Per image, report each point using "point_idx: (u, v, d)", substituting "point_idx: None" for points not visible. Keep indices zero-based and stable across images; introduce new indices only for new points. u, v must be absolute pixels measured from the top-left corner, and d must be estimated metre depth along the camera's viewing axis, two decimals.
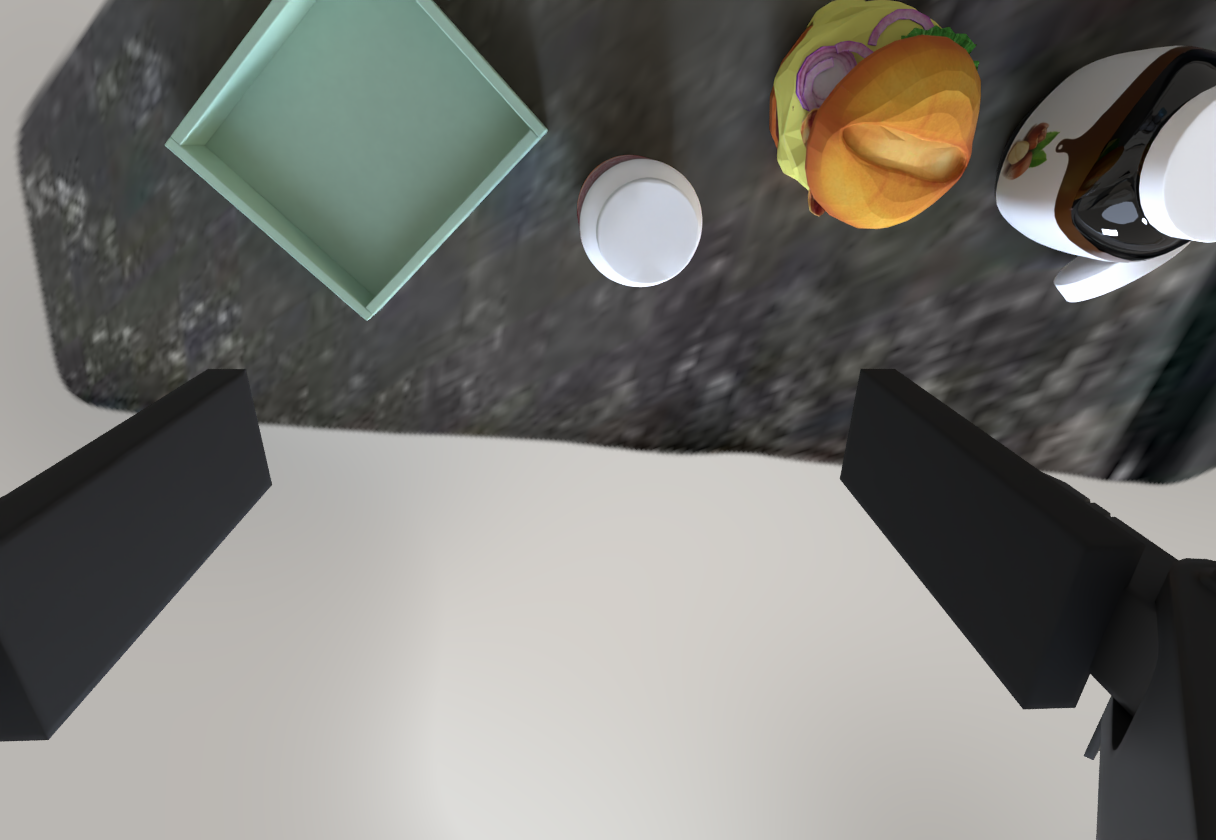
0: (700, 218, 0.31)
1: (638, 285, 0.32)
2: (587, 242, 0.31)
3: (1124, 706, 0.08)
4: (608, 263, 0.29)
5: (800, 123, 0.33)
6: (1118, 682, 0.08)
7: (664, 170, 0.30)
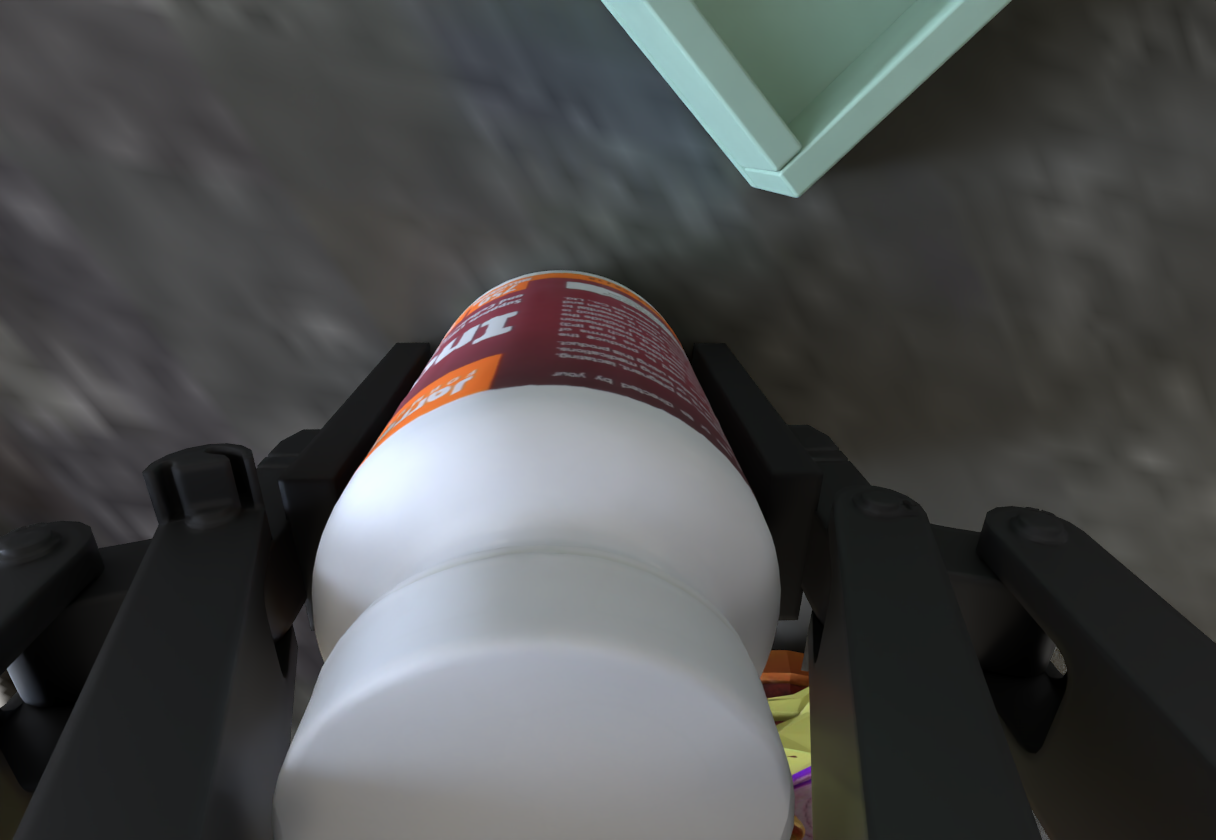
0: None
1: (318, 637, 0.08)
2: (468, 452, 0.07)
3: (820, 621, 0.09)
4: (355, 703, 0.05)
5: None
6: (813, 602, 0.09)
7: None
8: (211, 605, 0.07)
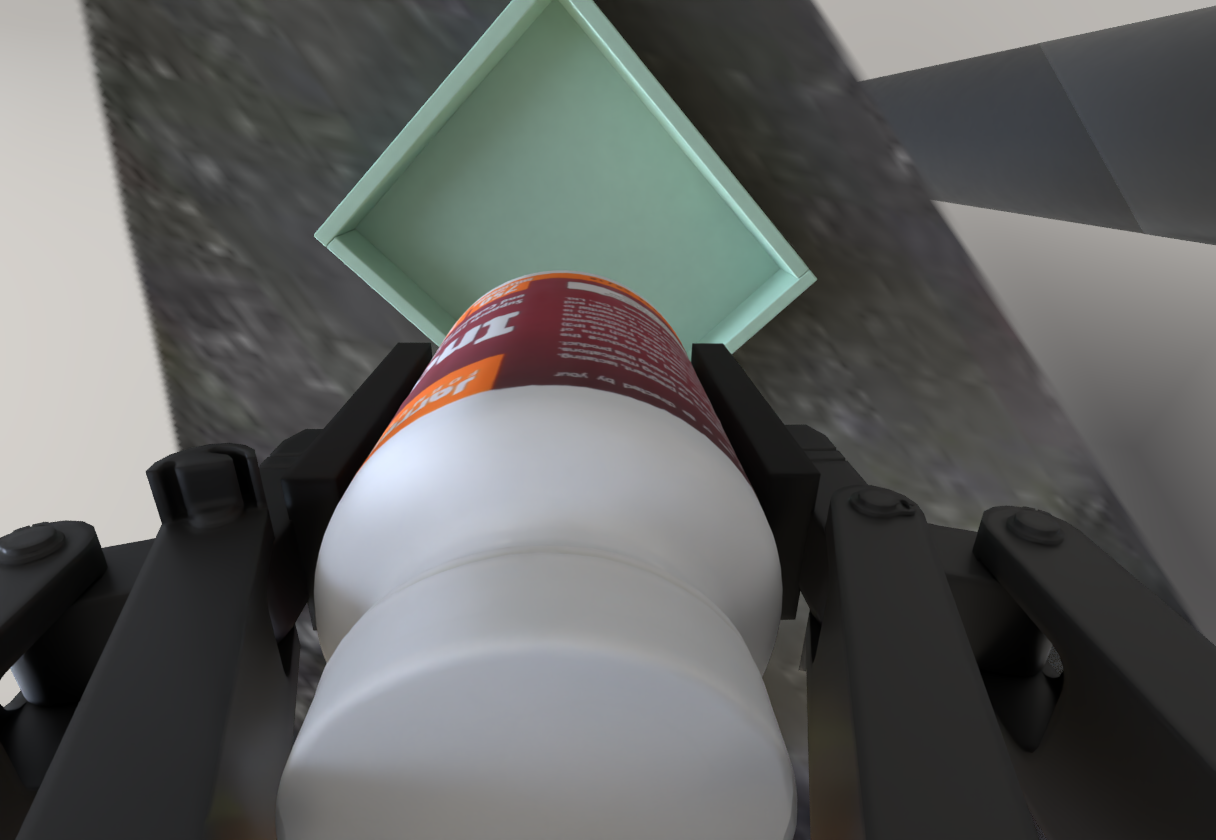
0: None
1: (320, 638, 0.08)
2: (471, 451, 0.07)
3: (817, 621, 0.09)
4: (359, 703, 0.05)
5: None
6: (811, 602, 0.09)
7: None
8: (214, 604, 0.07)
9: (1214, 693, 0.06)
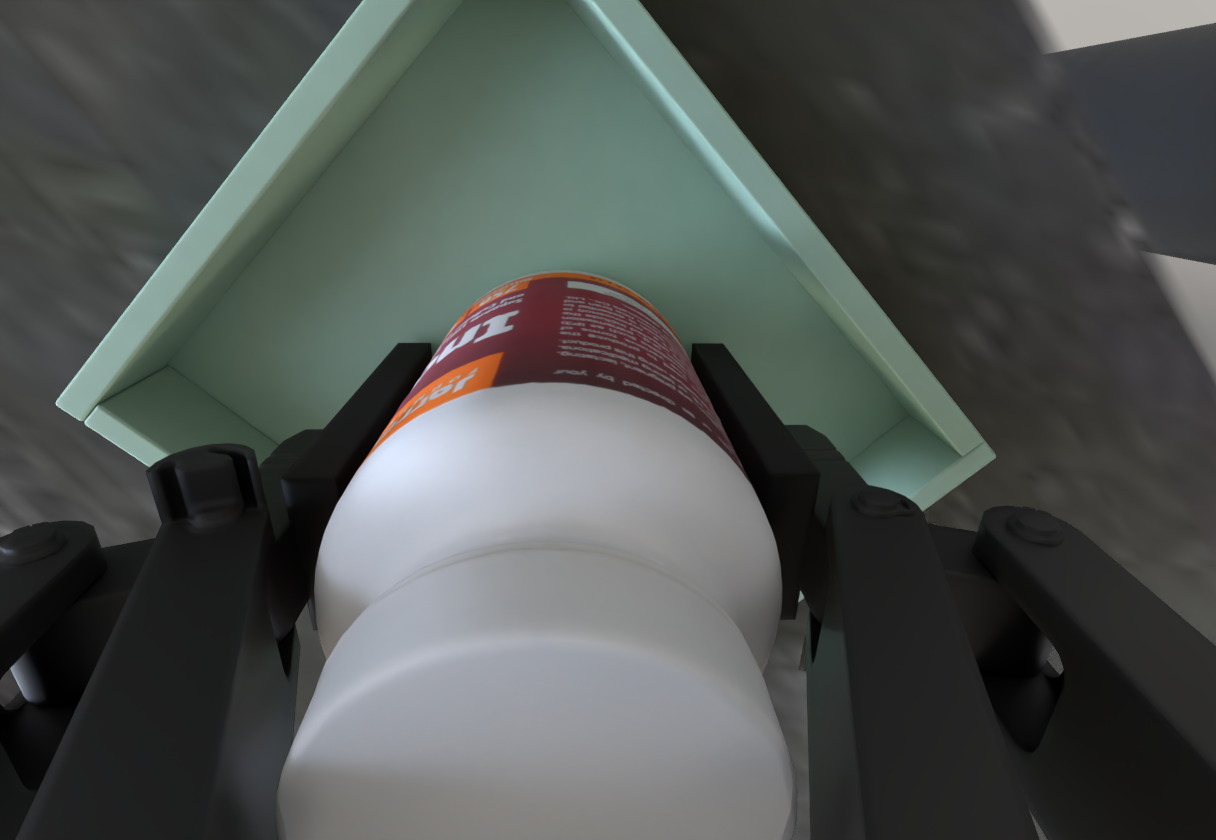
0: None
1: (320, 635, 0.08)
2: (471, 449, 0.07)
3: (817, 621, 0.09)
4: (359, 698, 0.05)
5: None
6: (811, 602, 0.09)
7: None
8: (213, 605, 0.07)
9: (1214, 692, 0.06)
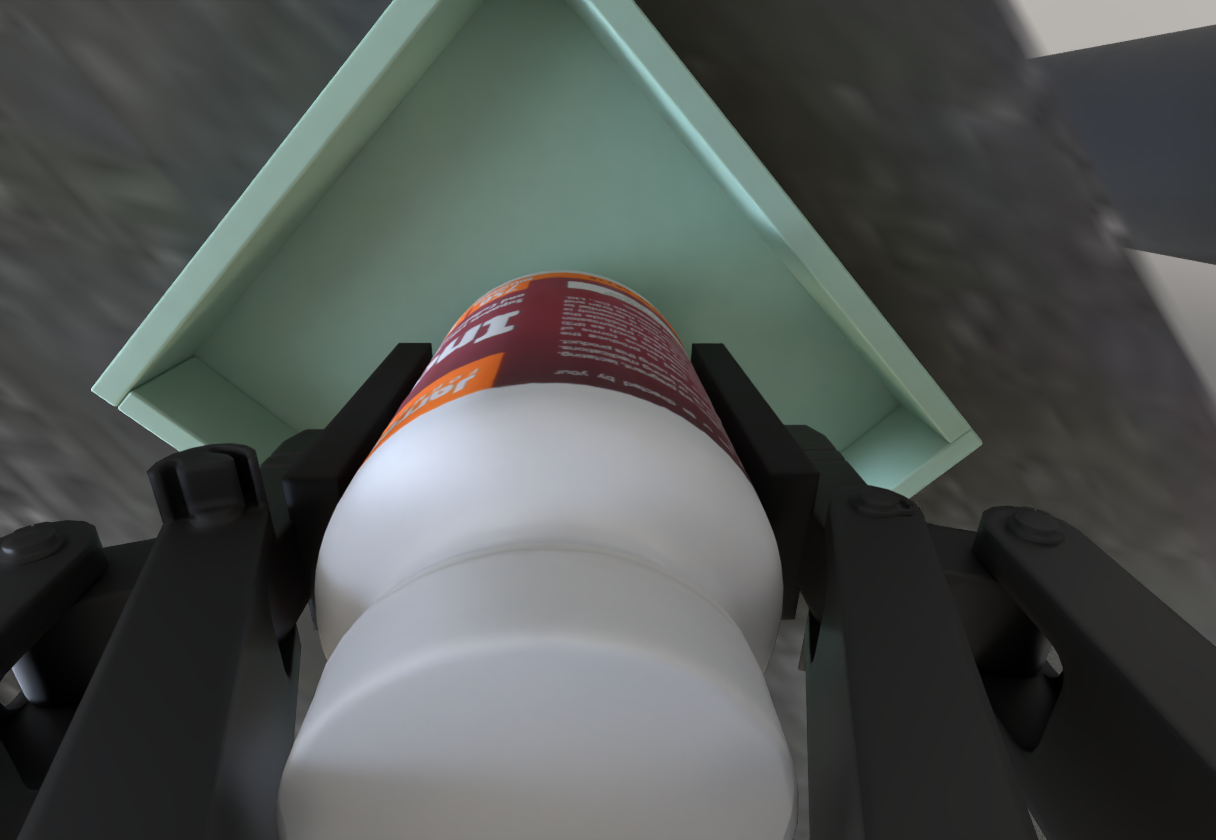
0: None
1: (321, 636, 0.08)
2: (472, 450, 0.07)
3: (817, 621, 0.09)
4: (359, 699, 0.05)
5: None
6: (810, 602, 0.09)
7: None
8: (215, 604, 0.07)
9: (1214, 693, 0.06)
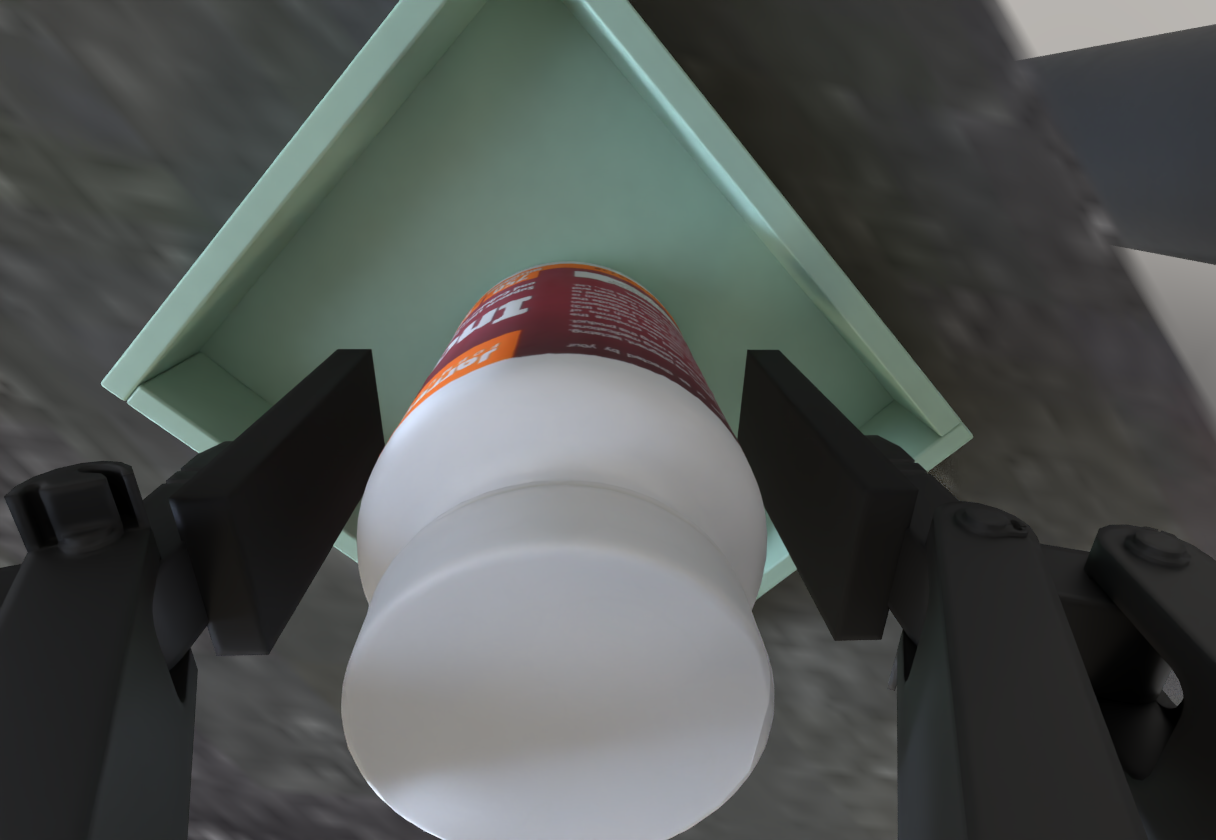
0: None
1: (362, 575, 0.09)
2: (498, 407, 0.08)
3: (911, 640, 0.09)
4: (415, 597, 0.06)
5: None
6: (905, 619, 0.09)
7: None
8: (91, 631, 0.06)
9: None
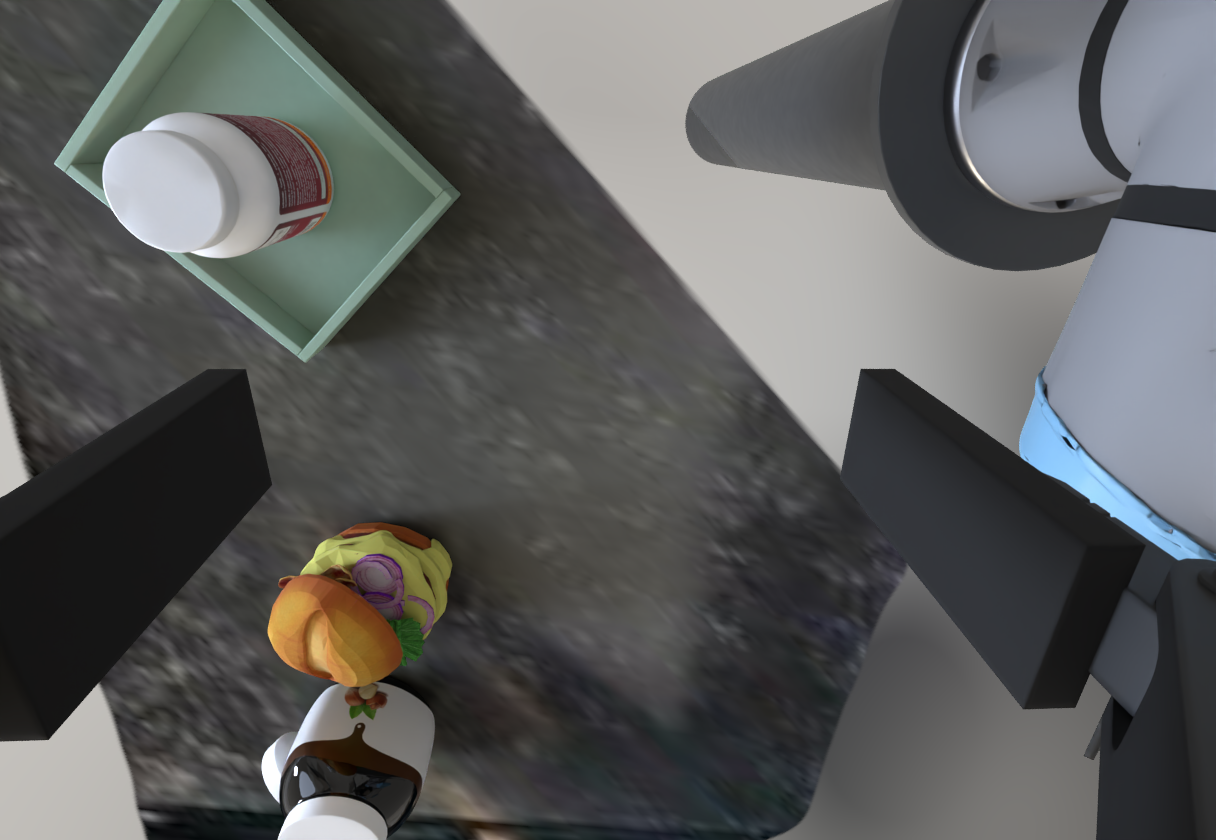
0: (224, 255, 0.29)
1: None
2: (161, 121, 0.26)
3: (1124, 706, 0.08)
4: (115, 144, 0.24)
5: (346, 560, 0.42)
6: (1118, 682, 0.08)
7: (262, 211, 0.28)
8: None
9: None
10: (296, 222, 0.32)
